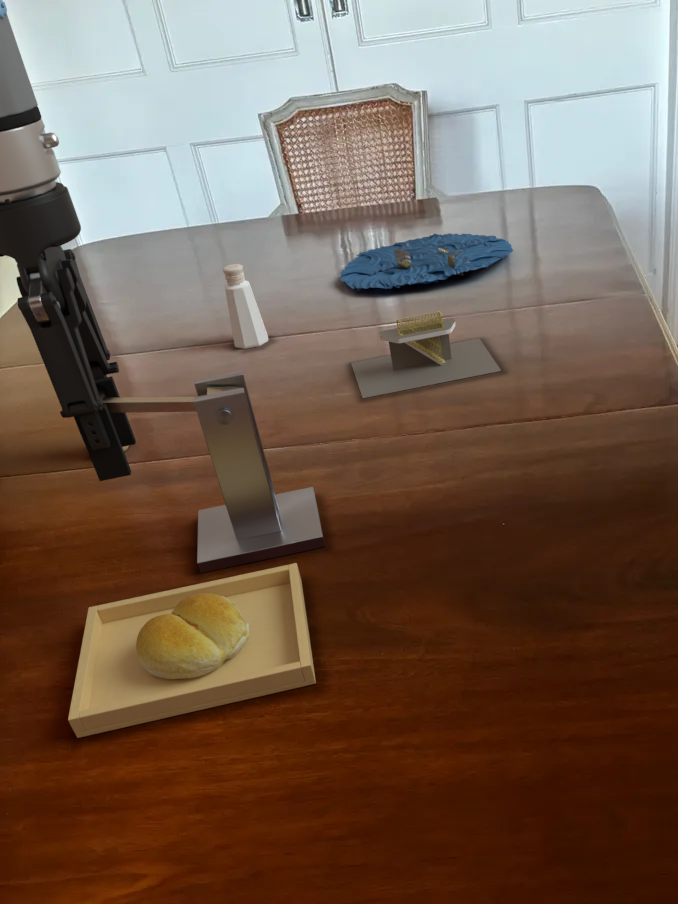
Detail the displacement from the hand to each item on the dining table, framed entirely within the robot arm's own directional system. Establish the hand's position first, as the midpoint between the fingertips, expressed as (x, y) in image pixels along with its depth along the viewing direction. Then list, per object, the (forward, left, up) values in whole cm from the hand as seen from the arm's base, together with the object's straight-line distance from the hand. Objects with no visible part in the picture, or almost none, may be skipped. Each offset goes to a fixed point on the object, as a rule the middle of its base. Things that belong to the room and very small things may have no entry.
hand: (118, 459), depth 82 cm
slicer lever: (+5, 0, +3) cm, 6 cm away
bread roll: (+5, -17, -10) cm, 20 cm away
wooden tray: (+5, -17, -11) cm, 21 cm away
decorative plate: (+42, +74, -11) cm, 86 cm away
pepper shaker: (+12, +54, -11) cm, 56 cm away
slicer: (+11, 0, -11) cm, 15 cm away
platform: (+34, +33, -11) cm, 48 cm away
